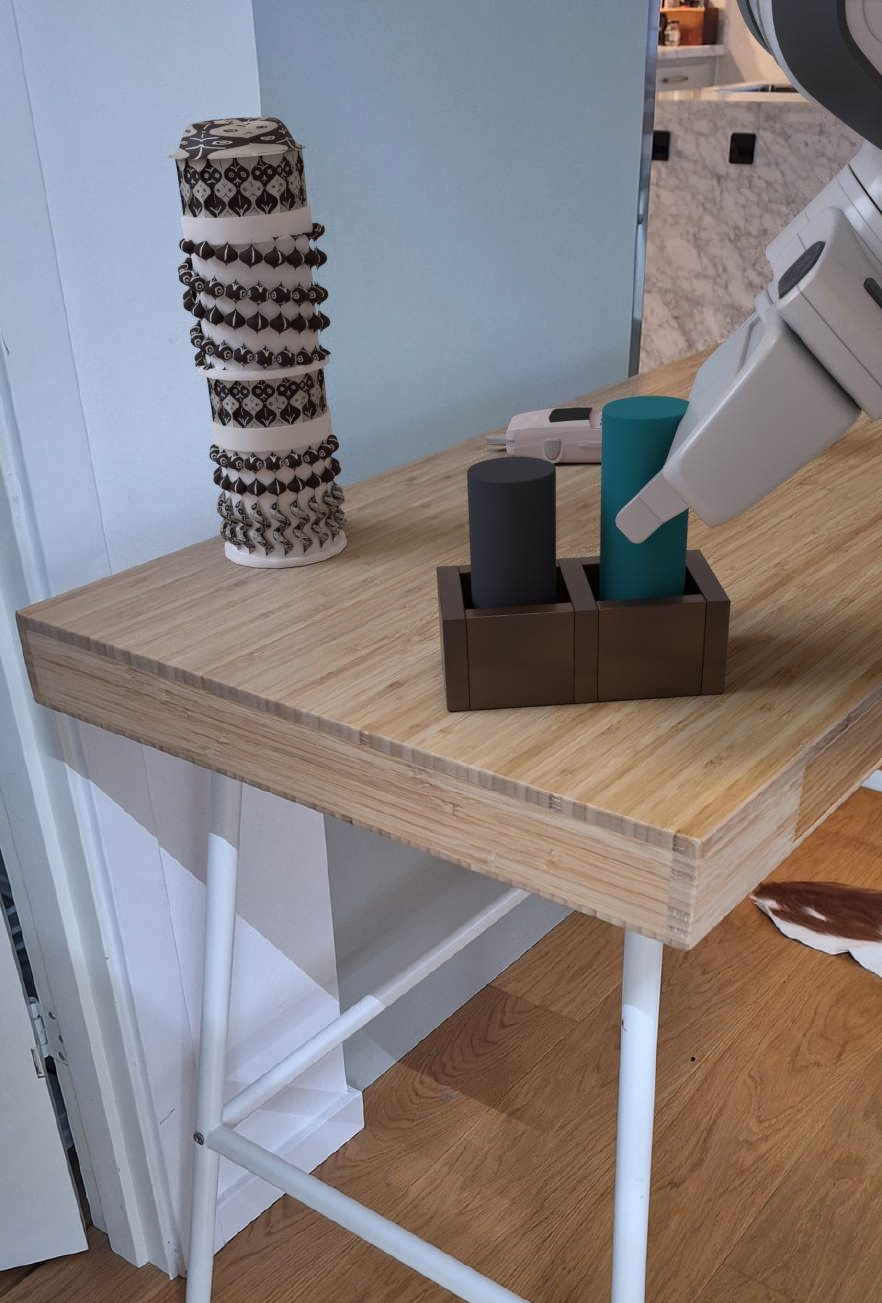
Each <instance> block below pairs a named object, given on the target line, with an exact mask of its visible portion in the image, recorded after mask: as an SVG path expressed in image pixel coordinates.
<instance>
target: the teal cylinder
mask: <svg viewBox="0 0 882 1303" xmlns="http://www.w3.org/2000/svg"><path fill="white" fill-rule="evenodd" d="M688 405H689V401H688V399H683V398H679V397H675V396H667V395H638V396H629V397H623V398H619V399H616V400H615V399H614V400H611V401H610V402H607V403H605V405H603V406H602V408H601V412H602V455H601V462H600V522H599V523H600V527H599V530H600V531H599V537H600V538H599V556H600V583H599V601H607V600H622V599H638V598H653V597H668V596H683V595H684V590H685V571H686V552H687V550H688V531H689V511H690V508H688V509H686V510H685V511H683V512H681V513H680V514H678V515H676V516H675V517H673V518H671V519H670V520H668V521H667V522H665V523H663V524H662V525H661V526H660V527H659V528H658V529H656V530H655V531H654V532H653V533H652V534H651V535H650V536H649V537H648V538H647V539H646V540H644V541H643V542H641V543H639V544H638V543H633V542H631V541H630V540H629V539H628V538H627V537H626V536H625V535H624V534H623V533H622V532H621V530H620V529H619V528H618V527H617V526H616V521H615V520H616V517H617V514H618V513H619V510H620V508H621V506H622V505H623V504H624V503H625V502H627V501H628V500H629V499H630V498H631V497H632V496H633V495H634V494H635V493H636V492H637V491H638V490H639V489H640V488H641V487H642V488H643V487H644V486H645V485H646V484H647V483H648V482H649V481H650V480H652V479H653V478H654V477H655V476H656V475H657V474H658V473H659V472H660V471H661V470H662V469H663V466H664V465H665V463H666V460H667V457H668V454H669V452H670V449H671V446H672V443H673V440H674V437H675V435H676V432H677V429H678V426H679V423H680V421H681V420H682V418H683V416H684V415H685V413H686V411H687V408H688Z"/></svg>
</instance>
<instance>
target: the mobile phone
mask: <svg viewBox="0 0 882 1303" xmlns="http://www.w3.org/2000/svg"><path fill="white" fill-rule="evenodd" d="M486 445H487V446H500V447H505V450H506V452H507V454H508V455H510V456H511V457H532V458H538V459H543V460H546V461H549V462H551V463H553V464H558V463H563V464H564V463H569V464H570V463H601V455H602V411H598V410H596V408H594V407H593V406H567V407H566V406H564V407H556V408H555V407H554V408H546V409H539V410H532V411H527V412H523V413H518V414H516V415H514V416H512V418H511V420H510V422H509V425H508V427H507V429H506V431H505V434H492V435H491V434H490V435H486Z"/></svg>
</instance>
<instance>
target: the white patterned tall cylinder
mask: <svg viewBox="0 0 882 1303" xmlns="http://www.w3.org/2000/svg"><path fill="white" fill-rule="evenodd" d="M306 148H307V147H306V145H304V144H300V143H298V142H297V141H295V138H294V137H293V135H292V134H291V132H290V130H289V128H288V127H287V125H286V124H284V122H283V121H282V120H280V119H279V118H277V117H274V116H273V117H271V116H247V117H246V116H245V117H230V118H220V119H210V120H209V119H208V120H202V121H197V122H193V123H189V125H187V126H186V127H185V129H184V131H183V133H182V136H181V139H180V142H179V146H178V148H177V150H176V151H175V152H174V153H172V154H169V155H168V159H173V160H174V161H175V168H176V174H177V181H178V189H179V196H180V201H181V210H182V211H181V212H180V222H181V229H182V236H183V238H182V239H180V241H179V242H178V248H179V250H180V251H182V252H183V253H184V254H187V255H188V256H187V257H185V260H184V261H182V262H181V263H180V264H179V265H178V267H177V272H178V280H179V282H180V283H181V284H182V285H184V286H186V287H189V288H188V289H186V290H185V291H184V292H183V294H182V300H183V302H182V306H183V309H184V310H185V311H187V312H189V313H190V314H191V315H192V316H193V317H194V318H196V319H197V322H196V324H194V325H193V326H191V327H190V330H189V334H190V343H191V345H192V346H193V347H195V348H196V349H199V350H198V352H197V353H195V355H194V357H193V359H194V361H195V362H194V366H195V367H196V368H197V370H198V374H199V375H200V376H203V377H206V382H207V390H208V397H209V398H208V399H209V403H210V410H211V415H209V418H210V419H209V422H210V423H209V424H210V428H211V435H212V436H211V437H212V444H211V446H210V447H209V454H208V457H209V459H210V460H211V461H212V462H214V463H216V464H217V465H218V467H217V468H215V469H214V471H213V478H212V481H213V483H214V484H215V486H218V487H219V488H220V489H221V490H223V491H222V492H220V494H219V496H218V498H217V501H216V511H217V513H218V515H219V516H220V517H221V518H222V519H221V522H220V528H219V533H220V535H221V537H222V539H224V540H225V543H224V552H225V553H224V554H225V558H226V559H228V560H229V561H231V562H233V563H234V564H236V565H241V566H245V567H250V568H255V569H256V568H259V569H260V568H261V569H283V568H291V567H293V568H294V567H302V566H307V565H310V564H315V563H319V562H322V561H325V560H328V559H330V558H332V557H334V556H336V555H339V554H340V553H341V552H342V551H344V549H345V548H346V547H347V545H348V541H347V536H346V534H345V531H344V530H342V529H343V528H344V527H345V526H346V524H347V521H348V520H347V518H346V517H345V516H346V514H345V511H344V509H342V508H341V507H340V506H341V505H342V504H344V502H345V501H346V500H345V499H346V498H345V495H344V490H343V488H342V486H340V485H339V484H338V483H337V482H335V478H336V477H337V476H339V475H340V474H341V472H342V467H341V465H340V461H339V460H338V459H337V458H335V457H333V456H332V455H333V454H334V453H336V452H337V451H338V450H339V448H340V442H339V440H338V437H337V436H336V435H335V434H334V433H333V426H332V424H333V423H332V416H331V414H332V413H331V409H330V407H329V405H328V403H327V402H328V401H327V390H326V389H327V388H326V380H325V379H326V378H325V370H324V367H326V366H327V365H328V364H329V363H331V358H330V355H332V353H331V352H330V351H329V350H328V349H326V348H324V347H323V346H322V344H321V343H320V340H319V334H320V336H321V334H322V332H323V331H324V330H325V329H327V328H328V327H330V325H331V318H330V317H328V316H327V315H325V313H322V311H321V310H320V309H316V304H317V306H318V307H319V308H320V306H321V304H323V303H325V301H326V300H327V299H328V298H329V291H328V289H327V288H325V287H323V286H321V285H320V284H319V283H318V282H316V281H314V279H313V269H312V268H314V267H315V268H316V271H319V269H320V268H321V267H322V266H323V265H325V264H326V263H327V261H328V255H327V254H326V252H324V251H322V250H321V249H319V248H318V246H317V245H316V246H314V245H313V246H314V247H313V248H314V249H312V247H311V245H310V241H311V240H312V241H313V243H316V242H317V240H318V239H319V238H321V237H322V236H323V235H325V231H326V228H325V225H322V224H320V223H319V222H313V215H312V206H311V204H310V203H309V202H308V194H307V186H306V185H307V184H306V173H305V162H304V153H303V150H304V149H306ZM192 272H193V273H192Z"/></svg>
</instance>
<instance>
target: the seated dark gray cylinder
mask: <svg viewBox="0 0 882 1303" xmlns="http://www.w3.org/2000/svg"><path fill="white" fill-rule="evenodd" d="M466 481H467V482H466V485H467V508H468V535H469V557H470V559H469V560H470V561H469V562H470V564H471V587H472V609H483V608H498V607H514V606H529V605H544V604H556V559H557V467H556V465H555V463H551V462H549V461H546V460H543V459H538V458H532V457H515V456H504V457H496V458H490V459H486V460H482V461H479V462H477V463H476V462H475V463H474V464H472V465H471V466H469V467H468V469H467V470H466Z"/></svg>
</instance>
